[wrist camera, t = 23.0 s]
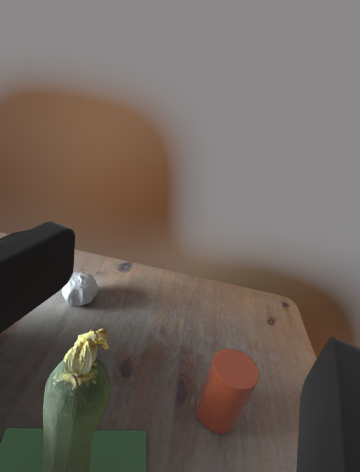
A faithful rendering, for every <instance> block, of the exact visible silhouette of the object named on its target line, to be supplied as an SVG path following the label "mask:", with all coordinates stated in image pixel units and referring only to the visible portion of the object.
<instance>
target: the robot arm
mask: <svg viewBox="0 0 360 472" xmlns="http://www.w3.org/2000/svg"><path fill="white" fill-rule="evenodd" d="M74 247H75V234H74V231H73V230H72V229H69V228H67V227H64V226H62V225H59V224H57V223H54V222H51V221H50V222H46V223H44V224H42V225H39V226H37V227H35V228H33V229H30V230H26V231H21V232H16V233H12V234H10V235H7V236H5V237H3V238H0V333H2V332H3V331H5V330H6V329H7V328H9V327H10V326H11V325H13V324H14V323H15V322H17V321H18V320H20V319H21V318H22V317H24V316H25V315H26V314H28V313H29V312H31V311H32V310H33V309H35V308H36V307H37V306H39V305H40V304H41V303H43V302H44V301H46V300H47V299H48V298H50V297H51V296H52V295H54V294H55V293H57V292H58V291H59V290H61V289H62V288H63V287H64V286H65V285H66V284H67V283H68V282H69V280H70V278H71V276H72V274H73V267H74ZM296 472H360V348H358V347H356V346H353V345H351V344H349V343H346V342H343V341H341V340H339V339H336V338H334V337H331V338H330V339H329V340H328V341H327V343H326V344H325V346H324V348H323V349H322V351H321V353H320V355H319V356H318V358H317V360H316V361H315V363H314V365H313V367H312V368H311V370H310V372H309V373H308V375H307V377H306V379H305V382H304V385H303V388H302V392H301V398H300V415H299V434H298V452H297V471H296Z"/></svg>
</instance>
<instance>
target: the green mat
mask: <svg viewBox="0 0 360 472" xmlns="http://www.w3.org/2000/svg"><path fill="white" fill-rule="evenodd" d="M43 464H44V430H43V429H37V428H6V430H5V432H4V435H3V438H2V440H1V443H0V472H43ZM89 472H147V432H146V431H123V430H96V431H95V433H94V434H93V437H92V441H91V457H90V467H89Z"/></svg>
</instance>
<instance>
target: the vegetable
mask: <svg viewBox="0 0 360 472" xmlns="http://www.w3.org/2000/svg"><path fill="white" fill-rule="evenodd" d="M78 336H79V338H78V340H77V342H76V343H75V344H74V347H72V348H71V349H70V350H69V351H68V353H66V355H65V357H64V360H63V361H61V362H60V363H59V364H58V366H57V367H56V368H55V369H54V371H53V372H52V373H51V374H50V376H49V378H48V380H47V383H46V386H45V393H44V404H43V430H44V464H43V472H89V467H90V457H91V441H92V437H93V434H94V433H95V431H96V429H97V427H98V425H99V423H100V421H101V419H102V416H103V413H104V411H105V409H106V406H107V404H108V400H109V396H110V382H109V376H108V372H107V369H106V368H105V366H104V365H103V364H102V363H101V362H100V361H99V360H98V359H97V358H96V355H97V348H98V346H97V345H98V344H102V345H101V347H102V348H104V350H108V349H109V347H110V346H109V345H108V342H107V337H111V336H108V335H107V334H106V332H105V330H104V329H103V328H102V329H99V330H97V331H96V332H95V331H93V332H92V331H91V330H90V332H89V333H86V334H81V335H78Z"/></svg>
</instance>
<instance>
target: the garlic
mask: <svg viewBox="0 0 360 472" xmlns="http://www.w3.org/2000/svg"><path fill="white" fill-rule="evenodd" d="M97 292H98V285H97V283H96V281H95V279H94V277H93V276H92V275H89V274H87V273H85V272H76V273H73V274H72V276H71V278H70V280H69V282H68V283H67V284H66V285H65V286H64V287H63V288H62V293H63V296H64V298H65V300H66V302H67V304H68V305H69V306H82V305H85V304H88V303H91V301H92V299H93V298H94V297H95V295H96V294H97Z"/></svg>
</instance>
